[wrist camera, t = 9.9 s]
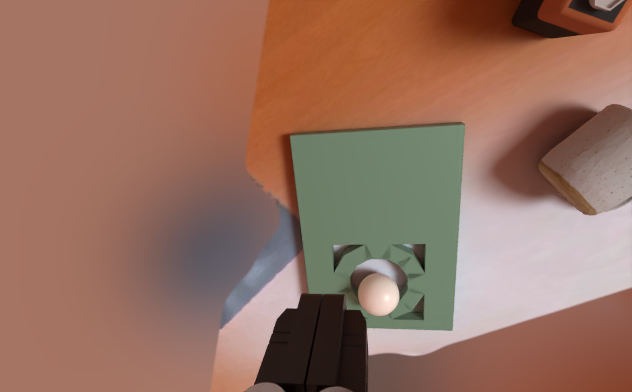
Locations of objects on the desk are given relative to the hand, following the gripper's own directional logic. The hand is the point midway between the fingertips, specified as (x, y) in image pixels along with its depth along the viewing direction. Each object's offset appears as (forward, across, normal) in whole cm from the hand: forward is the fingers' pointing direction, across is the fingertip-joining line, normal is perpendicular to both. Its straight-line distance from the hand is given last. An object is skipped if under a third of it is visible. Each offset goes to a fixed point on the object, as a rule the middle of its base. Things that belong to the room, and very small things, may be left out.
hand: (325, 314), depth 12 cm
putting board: (+28, -2, +12) cm, 31 cm away
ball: (+26, -2, +19) cm, 32 cm away
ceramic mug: (+28, -24, +4) cm, 37 cm away
